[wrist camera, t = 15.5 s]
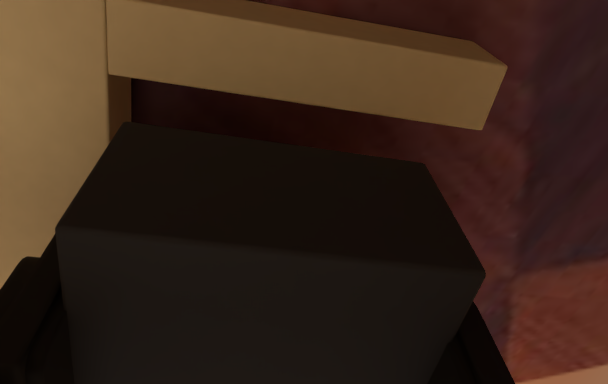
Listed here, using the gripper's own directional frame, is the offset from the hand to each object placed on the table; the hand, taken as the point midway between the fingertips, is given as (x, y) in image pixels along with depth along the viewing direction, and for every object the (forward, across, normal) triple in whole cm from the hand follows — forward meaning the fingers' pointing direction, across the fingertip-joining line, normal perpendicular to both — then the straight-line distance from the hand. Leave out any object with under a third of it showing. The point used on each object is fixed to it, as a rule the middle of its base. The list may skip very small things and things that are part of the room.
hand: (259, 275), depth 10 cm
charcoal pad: (+1, 0, 0) cm, 1 cm away
